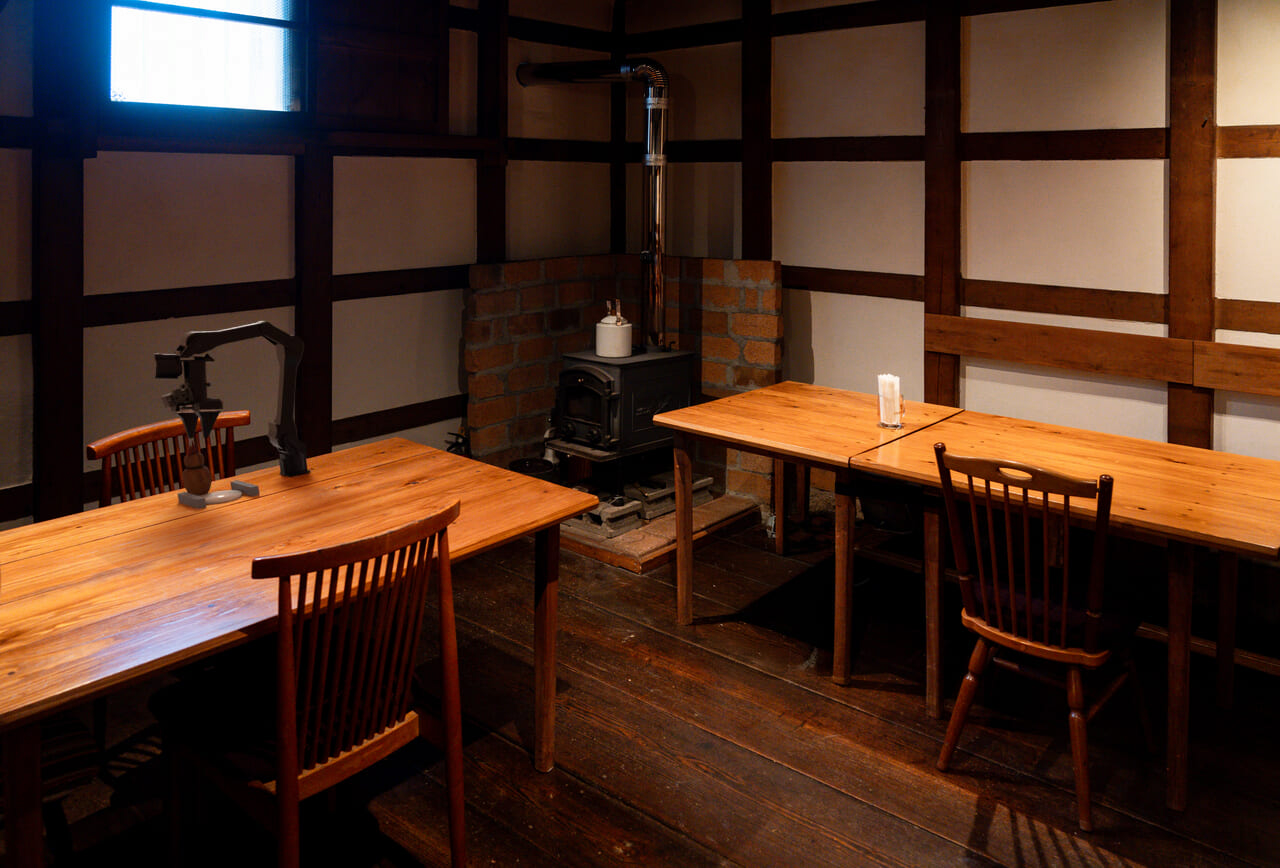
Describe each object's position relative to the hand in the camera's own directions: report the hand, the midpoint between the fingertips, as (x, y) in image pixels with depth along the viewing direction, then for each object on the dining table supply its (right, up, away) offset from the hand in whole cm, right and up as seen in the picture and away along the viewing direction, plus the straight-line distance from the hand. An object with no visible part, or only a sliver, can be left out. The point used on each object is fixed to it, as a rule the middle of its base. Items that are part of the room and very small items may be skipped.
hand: (198, 438), depth 260 cm
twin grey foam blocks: (+8, -16, -5) cm, 18 cm away
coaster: (+8, -16, -5) cm, 18 cm away
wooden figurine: (0, -15, +2) cm, 15 cm away
